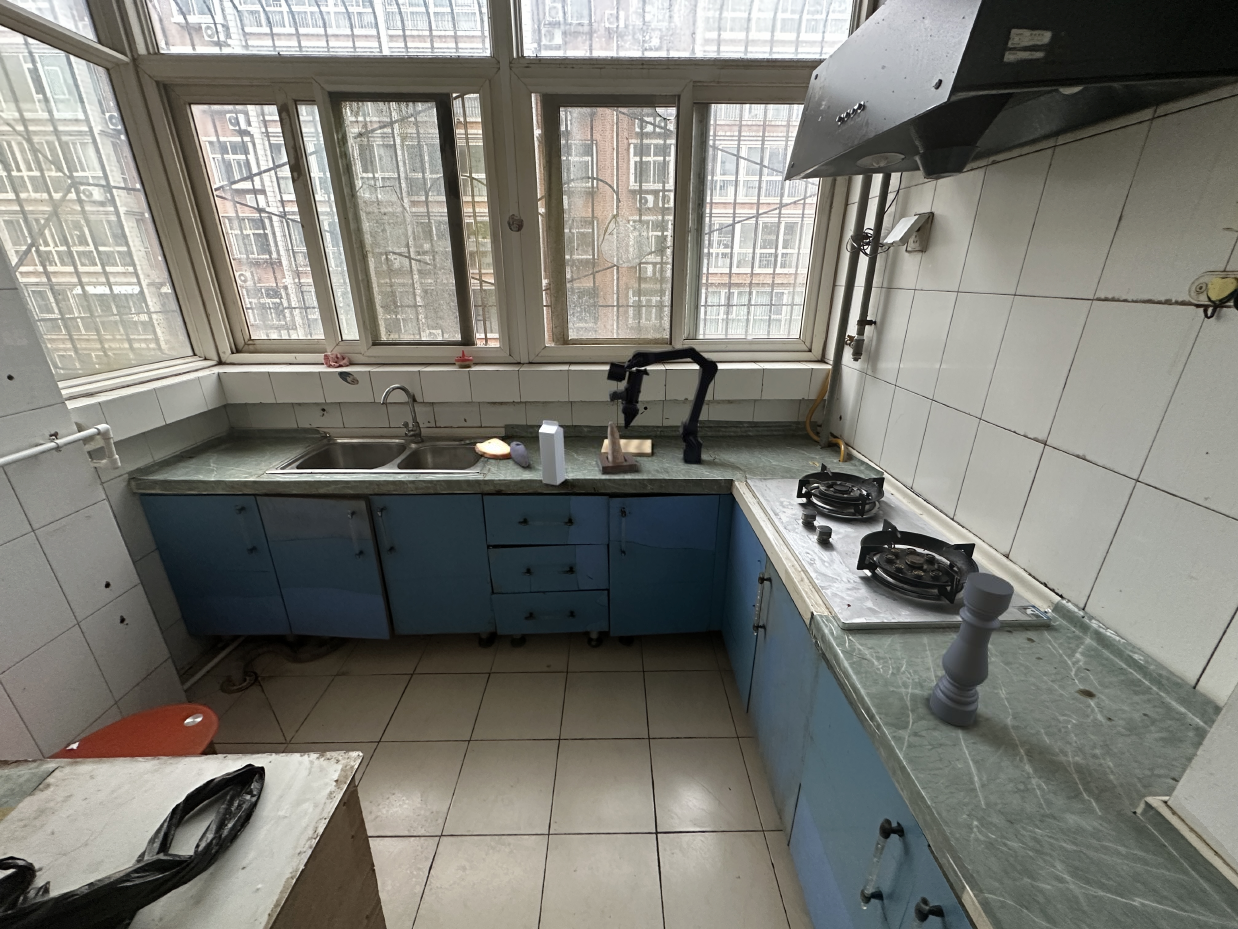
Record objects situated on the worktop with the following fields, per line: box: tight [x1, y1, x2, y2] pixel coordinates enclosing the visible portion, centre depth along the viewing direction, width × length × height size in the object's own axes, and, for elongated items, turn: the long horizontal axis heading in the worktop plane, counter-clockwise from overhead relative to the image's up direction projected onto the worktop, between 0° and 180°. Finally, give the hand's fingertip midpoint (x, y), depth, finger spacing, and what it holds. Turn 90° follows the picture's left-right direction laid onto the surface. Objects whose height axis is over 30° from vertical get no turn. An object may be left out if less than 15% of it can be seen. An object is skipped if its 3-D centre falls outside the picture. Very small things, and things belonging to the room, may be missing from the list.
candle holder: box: [929, 571, 1015, 727], centre depth 78 cm, size 6×6×25 cm
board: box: [600, 438, 652, 457], centre depth 206 cm, size 20×16×2 cm
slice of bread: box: [474, 437, 513, 460], centre depth 204 cm, size 18×18×4 cm
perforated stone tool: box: [509, 441, 530, 468], centre depth 191 cm, size 15×5×7 cm, turn 26°
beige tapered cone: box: [607, 421, 625, 463], centre depth 185 cm, size 6×18×6 cm
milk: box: [538, 419, 566, 486], centre depth 171 cm, size 6×6×22 cm
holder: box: [596, 452, 638, 475], centre depth 187 cm, size 13×13×3 cm
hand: (625, 425), depth 187 cm, fingers open, 9 cm apart
